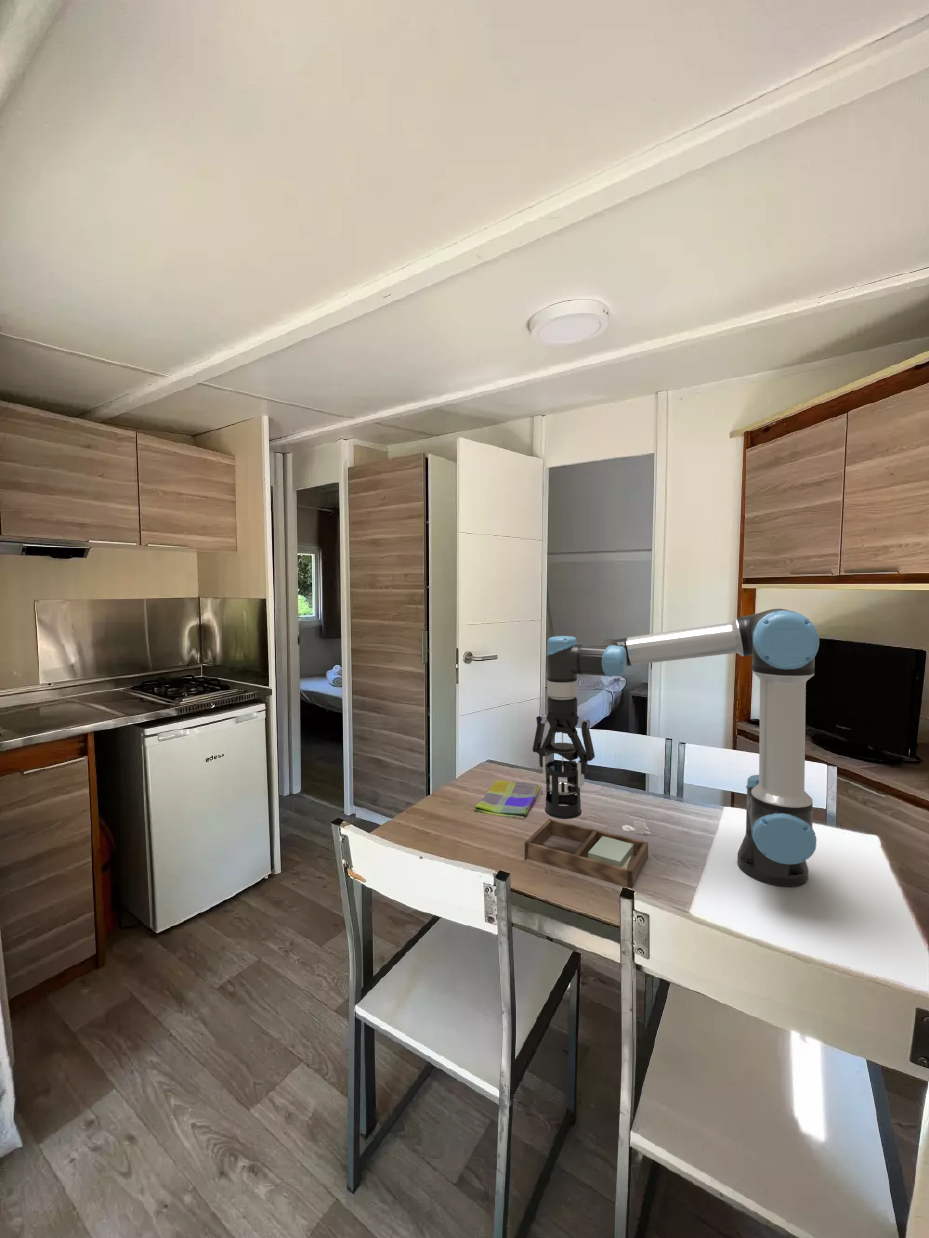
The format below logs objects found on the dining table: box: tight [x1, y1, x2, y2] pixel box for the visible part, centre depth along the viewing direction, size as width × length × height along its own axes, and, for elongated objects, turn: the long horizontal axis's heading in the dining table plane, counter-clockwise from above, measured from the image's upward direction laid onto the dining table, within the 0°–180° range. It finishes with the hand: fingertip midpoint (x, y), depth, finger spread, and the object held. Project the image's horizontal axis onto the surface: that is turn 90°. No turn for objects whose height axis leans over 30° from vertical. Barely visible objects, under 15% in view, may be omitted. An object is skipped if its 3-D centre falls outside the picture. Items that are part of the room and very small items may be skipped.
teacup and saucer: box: [621, 820, 652, 836], centre depth 149 cm, size 9×8×4 cm
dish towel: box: [474, 780, 543, 820], centre depth 174 cm, size 18×24×3 cm
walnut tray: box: [524, 818, 649, 889], centre depth 135 cm, size 27×16×5 cm, turn 58°
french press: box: [544, 724, 583, 820], centre depth 137 cm, size 12×9×23 cm
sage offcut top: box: [588, 836, 633, 867], centre depth 132 cm, size 8×10×2 cm
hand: (563, 782), depth 137 cm, fingers closed on french press, 9 cm apart
